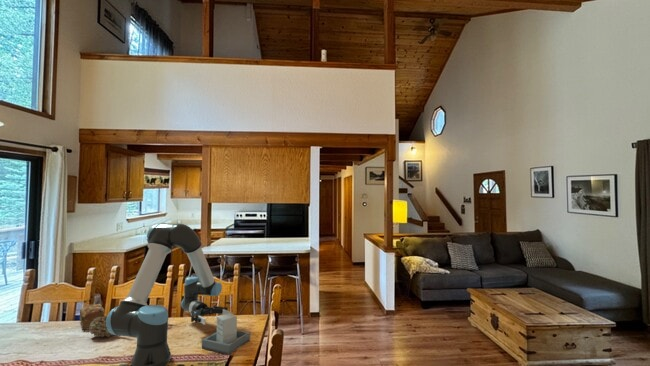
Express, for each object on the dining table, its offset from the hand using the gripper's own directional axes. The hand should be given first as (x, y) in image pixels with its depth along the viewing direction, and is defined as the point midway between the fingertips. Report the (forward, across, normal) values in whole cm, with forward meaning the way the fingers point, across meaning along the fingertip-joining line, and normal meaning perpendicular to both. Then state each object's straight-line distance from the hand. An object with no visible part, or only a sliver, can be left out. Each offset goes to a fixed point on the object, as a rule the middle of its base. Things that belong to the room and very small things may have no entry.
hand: (217, 318), depth 160 cm
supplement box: (+9, 0, -10) cm, 13 cm away
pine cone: (-43, +36, -11) cm, 58 cm away
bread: (-72, +39, -11) cm, 83 cm away
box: (+9, 0, -10) cm, 14 cm away
